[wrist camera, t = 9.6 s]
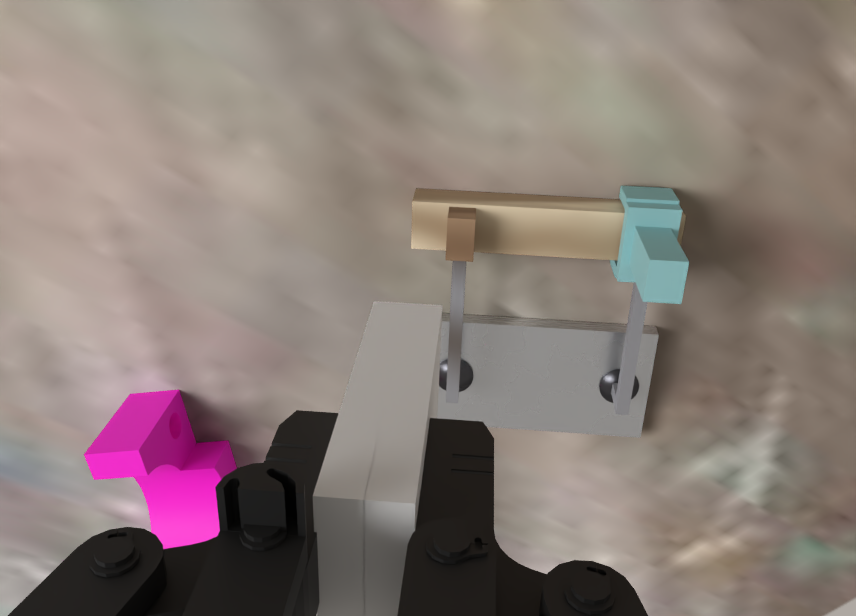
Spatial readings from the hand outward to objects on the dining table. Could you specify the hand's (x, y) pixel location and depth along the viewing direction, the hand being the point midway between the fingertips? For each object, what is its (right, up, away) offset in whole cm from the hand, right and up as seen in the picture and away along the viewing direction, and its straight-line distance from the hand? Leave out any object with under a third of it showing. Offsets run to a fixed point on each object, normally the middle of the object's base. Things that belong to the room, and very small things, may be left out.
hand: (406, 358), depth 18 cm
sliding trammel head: (+13, +2, +34) cm, 36 cm away
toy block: (-17, -11, +44) cm, 48 cm away
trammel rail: (+8, +2, +34) cm, 35 cm away
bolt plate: (+7, -3, +37) cm, 38 cm away
